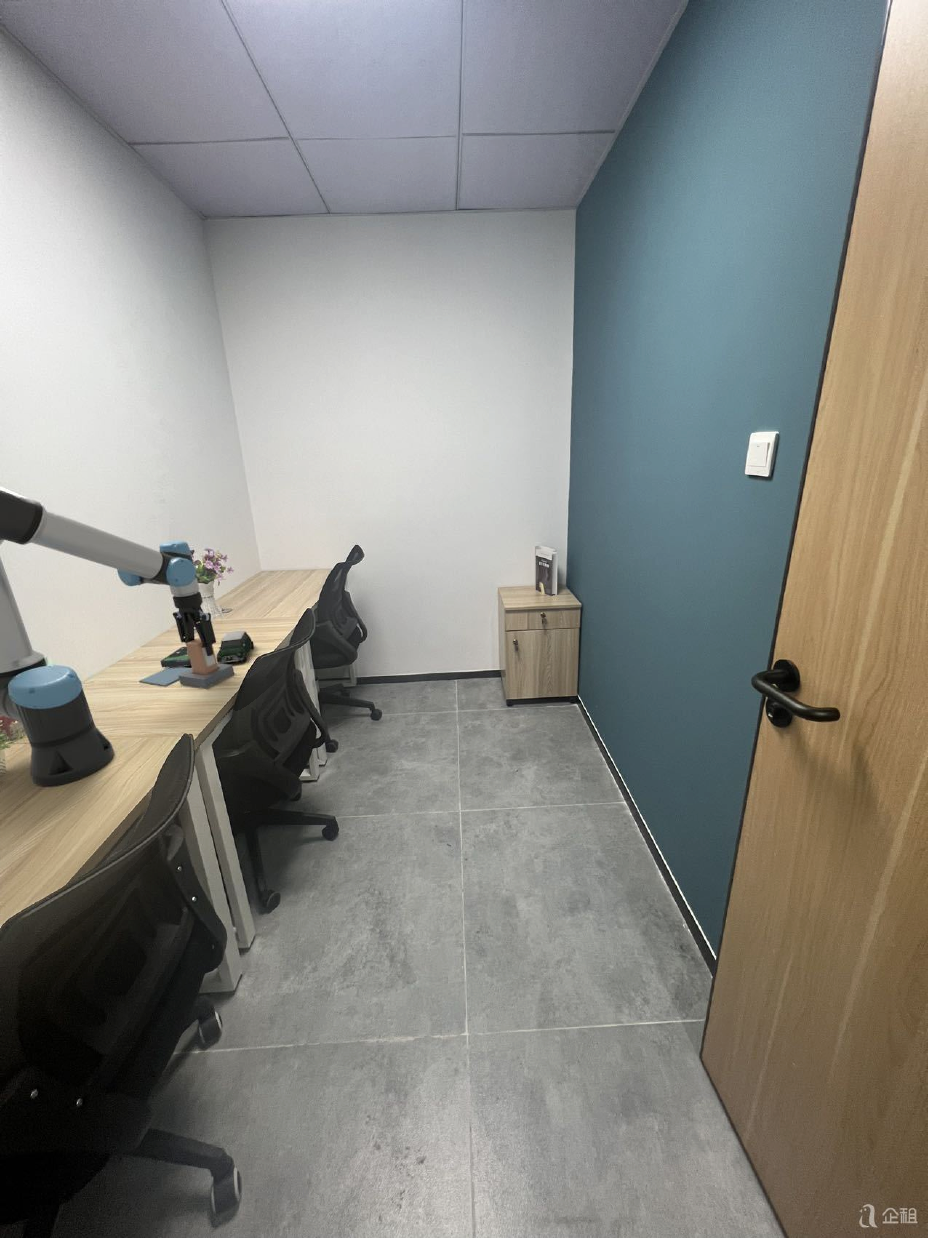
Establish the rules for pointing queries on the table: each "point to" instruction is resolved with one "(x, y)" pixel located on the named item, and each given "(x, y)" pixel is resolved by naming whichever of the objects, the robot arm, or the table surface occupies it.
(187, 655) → the disk drive
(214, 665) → the terracotta block
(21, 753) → the table surface
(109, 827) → the table surface
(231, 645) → the miniature car
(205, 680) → the pocket holder
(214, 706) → the table surface
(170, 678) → the rubber mat
